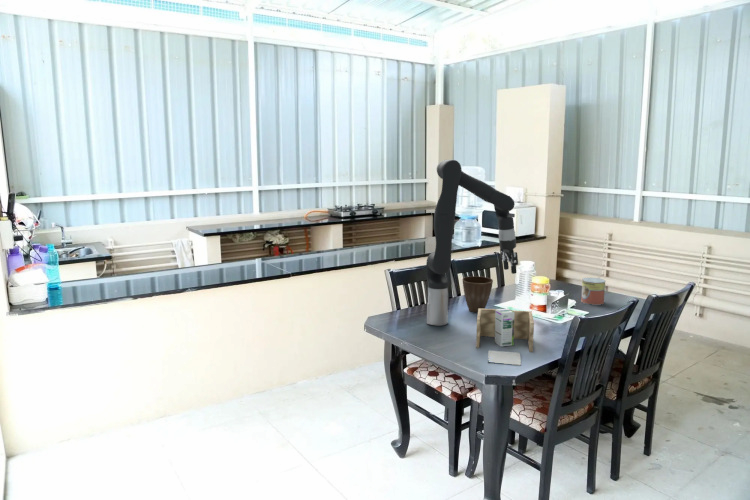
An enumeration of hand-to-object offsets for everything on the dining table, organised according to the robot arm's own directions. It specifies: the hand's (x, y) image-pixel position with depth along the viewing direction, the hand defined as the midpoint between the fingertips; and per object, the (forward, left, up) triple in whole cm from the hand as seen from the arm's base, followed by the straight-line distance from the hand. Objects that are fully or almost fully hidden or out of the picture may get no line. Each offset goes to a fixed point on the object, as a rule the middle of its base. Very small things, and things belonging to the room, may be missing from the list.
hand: (510, 271), depth 248 cm
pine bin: (-2, -37, -23) cm, 43 cm away
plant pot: (-15, +8, -23) cm, 29 cm away
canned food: (+44, +36, -23) cm, 61 cm away
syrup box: (-2, -38, -23) cm, 44 cm away
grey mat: (-2, -54, -23) cm, 58 cm away
